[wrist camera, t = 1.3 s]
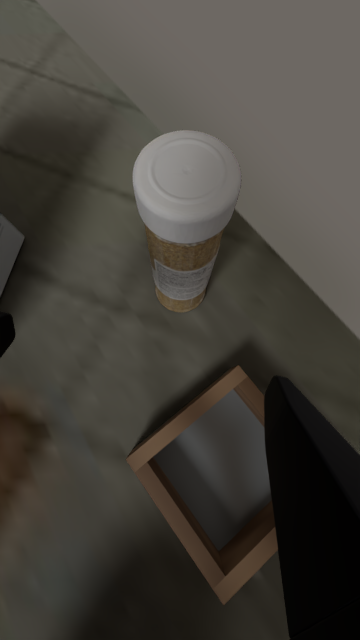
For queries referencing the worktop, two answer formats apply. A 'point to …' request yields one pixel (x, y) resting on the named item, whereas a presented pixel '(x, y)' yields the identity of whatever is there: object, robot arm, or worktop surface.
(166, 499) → the square wooden tray
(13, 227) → the tea box
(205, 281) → the sprinkles bottle
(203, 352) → the worktop surface
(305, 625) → the robot arm
